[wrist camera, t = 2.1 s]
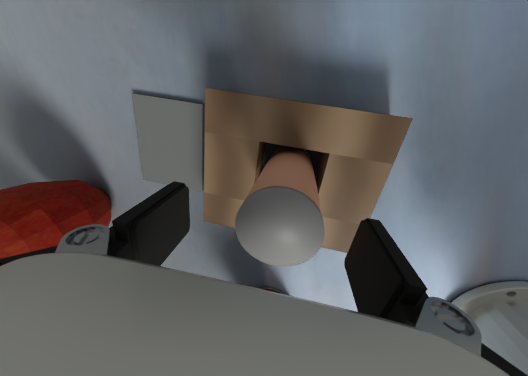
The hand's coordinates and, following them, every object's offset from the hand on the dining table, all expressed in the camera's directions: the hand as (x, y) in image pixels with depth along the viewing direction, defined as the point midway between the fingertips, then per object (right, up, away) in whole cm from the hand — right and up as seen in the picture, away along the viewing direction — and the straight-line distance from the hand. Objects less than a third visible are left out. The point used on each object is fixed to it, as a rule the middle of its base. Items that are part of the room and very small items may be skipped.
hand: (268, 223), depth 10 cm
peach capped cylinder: (+3, +4, +11) cm, 12 cm away
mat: (-11, +7, +12) cm, 18 cm away
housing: (+3, +4, +11) cm, 12 cm away
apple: (-24, 0, +18) cm, 30 cm away
